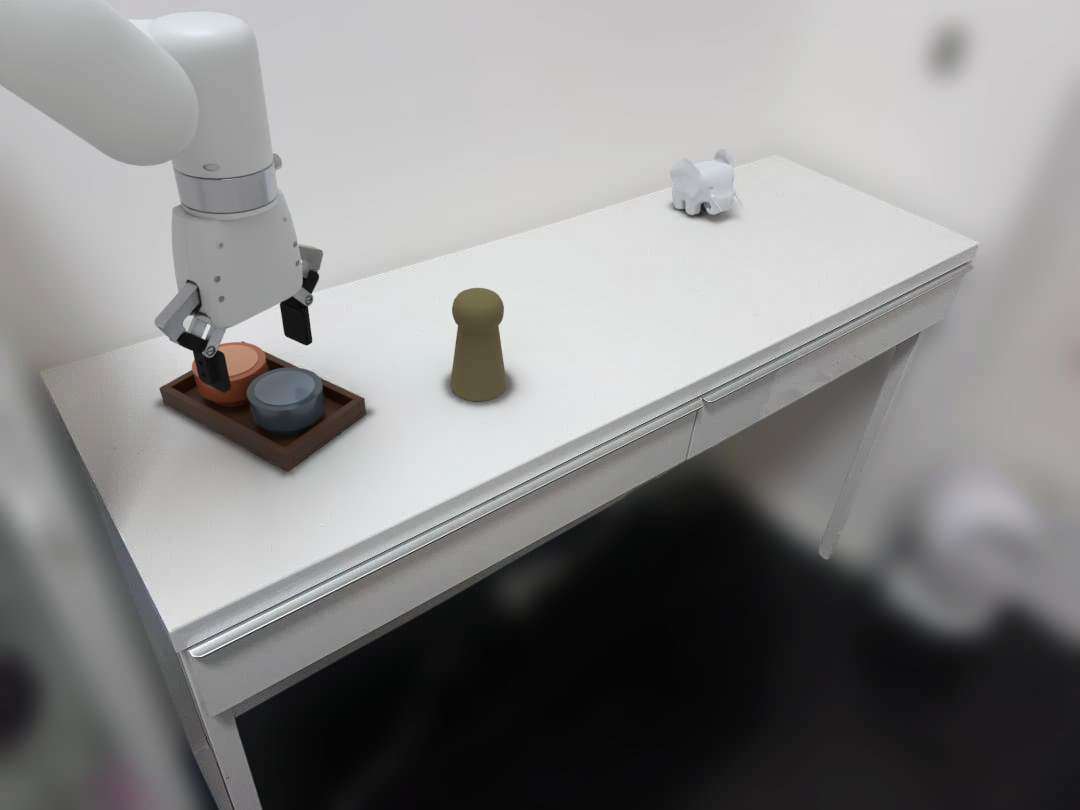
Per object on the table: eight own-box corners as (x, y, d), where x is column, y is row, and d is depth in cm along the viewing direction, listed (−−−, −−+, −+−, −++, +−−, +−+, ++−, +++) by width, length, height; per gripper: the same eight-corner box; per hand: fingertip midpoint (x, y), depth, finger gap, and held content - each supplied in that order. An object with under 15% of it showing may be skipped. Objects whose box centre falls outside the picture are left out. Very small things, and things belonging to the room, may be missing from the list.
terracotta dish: (232, 421, 79) (224, 389, 77) (185, 396, 82) (176, 364, 79) (286, 387, 84) (280, 356, 81) (239, 364, 87) (232, 333, 84)
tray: (287, 471, 74) (284, 455, 73) (163, 403, 82) (158, 387, 80) (366, 413, 82) (364, 398, 80) (246, 356, 89) (242, 340, 88)
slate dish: (290, 451, 76) (283, 418, 74) (238, 424, 79) (230, 392, 76) (341, 413, 81) (337, 382, 78) (291, 389, 83) (285, 358, 81)
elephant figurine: (707, 232, 119) (717, 174, 113) (651, 203, 126) (659, 147, 121) (751, 218, 123) (763, 161, 118) (695, 190, 131) (704, 136, 125)
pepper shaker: (493, 363, 90) (493, 275, 83) (515, 393, 85) (518, 303, 79) (441, 375, 87) (438, 286, 81) (462, 407, 83) (460, 315, 76)
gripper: (277, 146, 72) (300, 312, 82) (99, 204, 60) (152, 391, 70) (339, 166, 69) (354, 336, 79) (165, 232, 57) (209, 423, 67)
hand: (259, 362), depth 75 cm, fingers open, 9 cm apart
